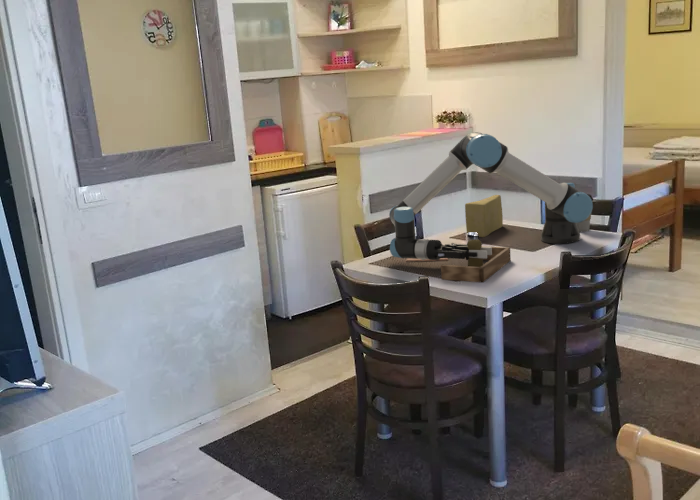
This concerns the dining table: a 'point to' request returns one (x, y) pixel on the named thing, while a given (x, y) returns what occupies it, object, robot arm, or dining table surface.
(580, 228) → the coffee cup
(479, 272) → the walnut bay
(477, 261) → the olive pepper mill
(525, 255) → the dining table surface
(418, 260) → the terracotta tile
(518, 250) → the dining table surface
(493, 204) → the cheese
